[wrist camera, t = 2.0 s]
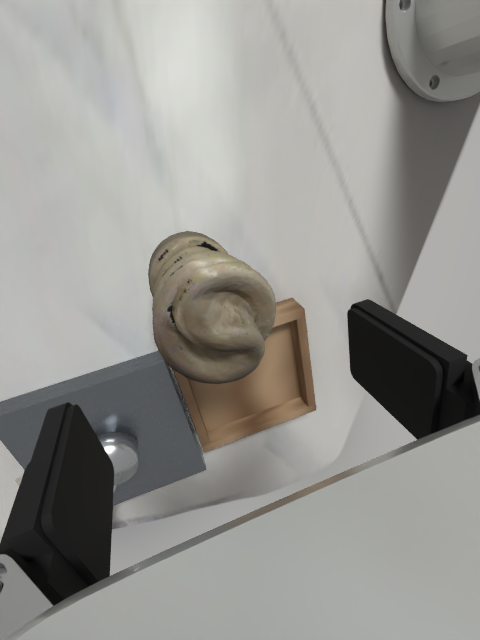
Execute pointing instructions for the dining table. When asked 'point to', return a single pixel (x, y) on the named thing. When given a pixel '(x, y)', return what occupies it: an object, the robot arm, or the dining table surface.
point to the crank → (121, 455)
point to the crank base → (116, 420)
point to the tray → (257, 386)
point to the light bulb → (208, 309)
